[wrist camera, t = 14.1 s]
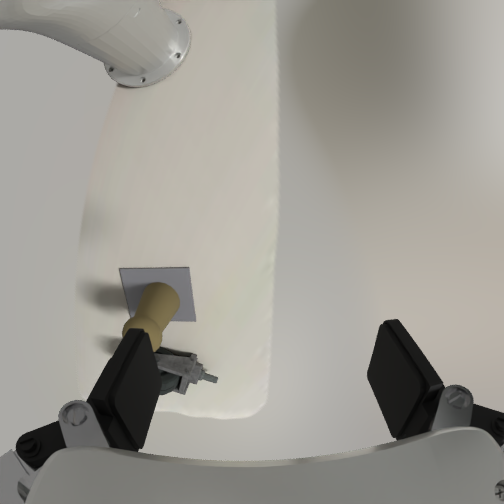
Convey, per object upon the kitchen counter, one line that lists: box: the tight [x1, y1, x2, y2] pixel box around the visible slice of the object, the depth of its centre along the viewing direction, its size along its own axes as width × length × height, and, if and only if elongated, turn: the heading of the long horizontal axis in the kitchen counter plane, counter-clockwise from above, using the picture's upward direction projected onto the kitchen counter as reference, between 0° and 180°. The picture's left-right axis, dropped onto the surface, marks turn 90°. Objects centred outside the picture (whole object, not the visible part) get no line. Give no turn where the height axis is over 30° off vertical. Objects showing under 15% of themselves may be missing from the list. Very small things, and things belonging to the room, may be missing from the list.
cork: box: [122, 282, 180, 352], centre depth 36 cm, size 6×6×11 cm
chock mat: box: [120, 267, 196, 322], centre depth 41 cm, size 9×11×1 cm
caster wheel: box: [154, 347, 218, 395], centre depth 42 cm, size 6×10×15 cm
